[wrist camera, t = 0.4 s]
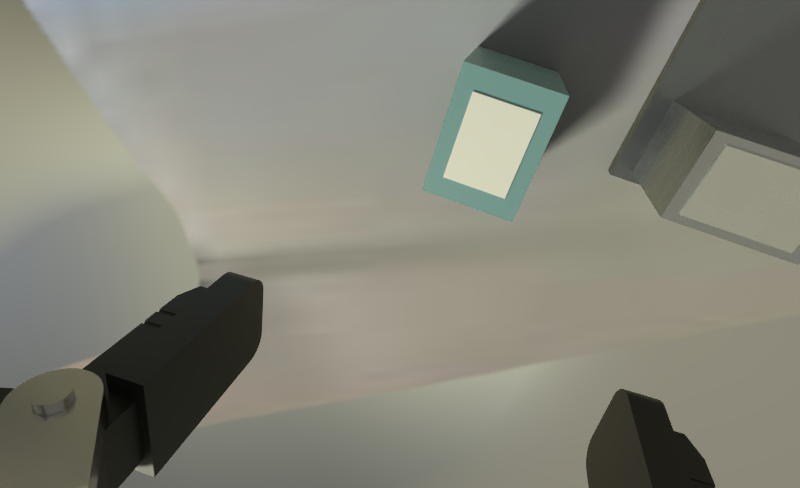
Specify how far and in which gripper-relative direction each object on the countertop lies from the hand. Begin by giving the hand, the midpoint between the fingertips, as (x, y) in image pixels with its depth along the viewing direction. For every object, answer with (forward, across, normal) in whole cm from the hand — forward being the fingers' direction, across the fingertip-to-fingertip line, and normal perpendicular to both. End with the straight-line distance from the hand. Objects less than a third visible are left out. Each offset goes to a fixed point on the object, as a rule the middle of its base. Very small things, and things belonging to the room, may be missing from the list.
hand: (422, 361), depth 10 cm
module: (+19, 0, -2) cm, 20 cm away
